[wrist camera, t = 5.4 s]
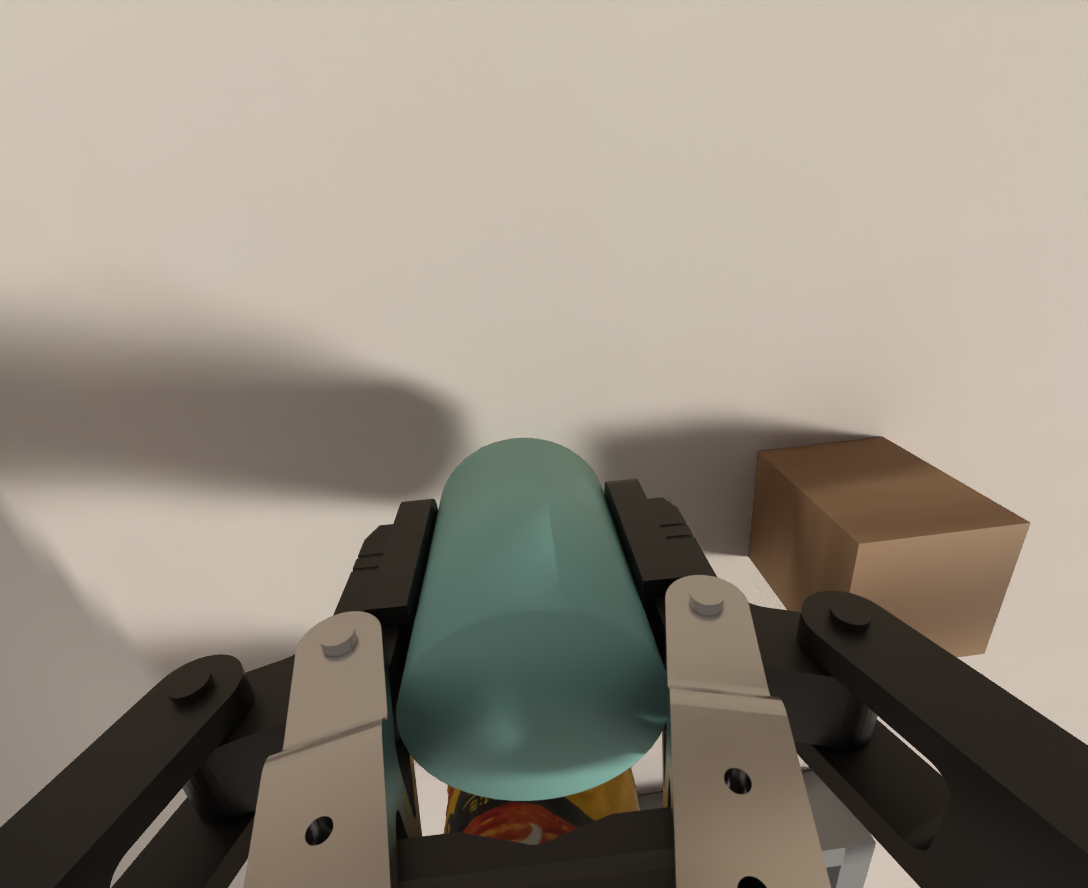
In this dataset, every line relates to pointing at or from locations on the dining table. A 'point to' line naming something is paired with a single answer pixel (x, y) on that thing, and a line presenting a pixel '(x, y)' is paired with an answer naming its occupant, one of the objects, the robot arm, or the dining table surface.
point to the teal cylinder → (528, 634)
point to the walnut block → (884, 537)
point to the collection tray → (824, 833)
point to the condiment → (538, 812)
